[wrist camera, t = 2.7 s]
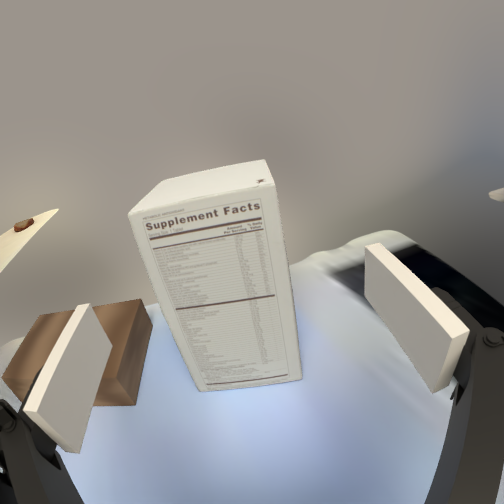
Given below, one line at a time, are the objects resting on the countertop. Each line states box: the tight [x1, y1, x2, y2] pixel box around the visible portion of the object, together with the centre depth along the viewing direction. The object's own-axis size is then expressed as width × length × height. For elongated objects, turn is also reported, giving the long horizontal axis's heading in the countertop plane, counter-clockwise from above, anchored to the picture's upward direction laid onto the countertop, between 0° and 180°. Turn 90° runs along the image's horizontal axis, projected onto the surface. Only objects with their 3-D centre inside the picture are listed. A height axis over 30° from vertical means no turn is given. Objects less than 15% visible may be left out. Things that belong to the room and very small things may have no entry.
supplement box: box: [128, 159, 302, 392], centre depth 24 cm, size 10×9×17 cm
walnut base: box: [2, 299, 153, 406], centre depth 28 cm, size 16×12×4 cm
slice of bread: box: [14, 218, 34, 232], centre depth 113 cm, size 18×18×4 cm
